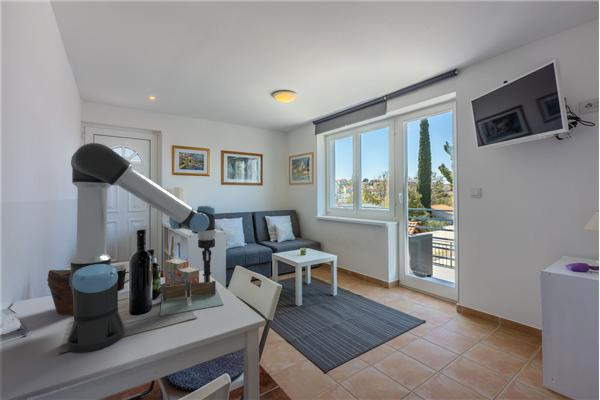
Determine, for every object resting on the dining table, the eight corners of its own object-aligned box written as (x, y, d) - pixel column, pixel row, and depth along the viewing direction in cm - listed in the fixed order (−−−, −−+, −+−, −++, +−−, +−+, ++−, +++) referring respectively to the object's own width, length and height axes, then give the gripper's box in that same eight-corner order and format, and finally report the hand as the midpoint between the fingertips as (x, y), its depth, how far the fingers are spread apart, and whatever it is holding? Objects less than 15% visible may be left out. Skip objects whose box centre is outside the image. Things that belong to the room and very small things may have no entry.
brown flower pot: (117, 299, 123) (115, 259, 123) (77, 320, 103) (74, 273, 103) (81, 298, 125) (79, 259, 124) (34, 319, 105) (32, 273, 105)
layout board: (223, 305, 117) (223, 304, 117) (160, 316, 106) (160, 315, 106) (215, 287, 138) (215, 286, 138) (162, 295, 128) (162, 294, 128)
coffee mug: (101, 290, 135) (101, 270, 134) (119, 285, 142) (119, 266, 142) (116, 294, 130) (115, 273, 129) (134, 288, 137) (133, 268, 137)
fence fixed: (190, 297, 125) (190, 282, 125) (162, 301, 120) (162, 285, 120) (190, 296, 127) (190, 280, 126) (162, 300, 122) (162, 284, 122)
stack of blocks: (199, 287, 139) (199, 263, 138) (188, 291, 133) (188, 266, 133) (175, 280, 151) (175, 258, 150) (164, 283, 146) (164, 260, 145)
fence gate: (215, 294, 127) (215, 281, 127) (191, 295, 125) (190, 283, 125) (215, 293, 129) (215, 280, 128) (191, 294, 126) (191, 282, 126)
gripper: (216, 240, 124) (216, 292, 125) (214, 236, 136) (214, 283, 137) (198, 241, 121) (198, 294, 122) (197, 236, 133) (198, 284, 134)
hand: (207, 288), depth 129 cm, fingers closed
